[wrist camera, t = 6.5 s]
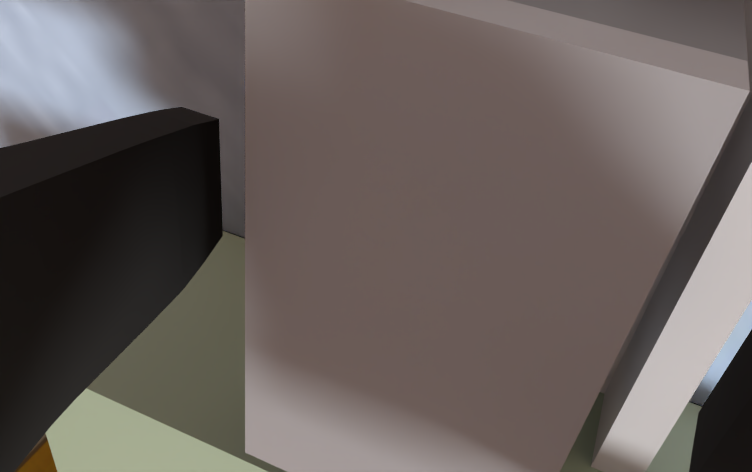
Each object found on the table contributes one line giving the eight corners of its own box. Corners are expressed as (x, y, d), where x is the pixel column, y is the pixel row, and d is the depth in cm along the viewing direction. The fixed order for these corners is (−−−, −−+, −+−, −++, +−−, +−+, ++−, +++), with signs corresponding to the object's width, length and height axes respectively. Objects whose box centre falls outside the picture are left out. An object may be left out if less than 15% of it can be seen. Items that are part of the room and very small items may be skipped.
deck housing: (663, 632, 18) (647, 871, 14) (201, 424, 21) (87, 571, 17) (1325, -130, 7) (2072, 21, 3) (146, -310, 10) (-193, -344, 6)
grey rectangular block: (573, 330, 13) (509, 573, 9) (376, 259, 14) (244, 452, 10) (739, -62, 8) (750, 91, 5) (436, -126, 9) (244, -43, 6)
